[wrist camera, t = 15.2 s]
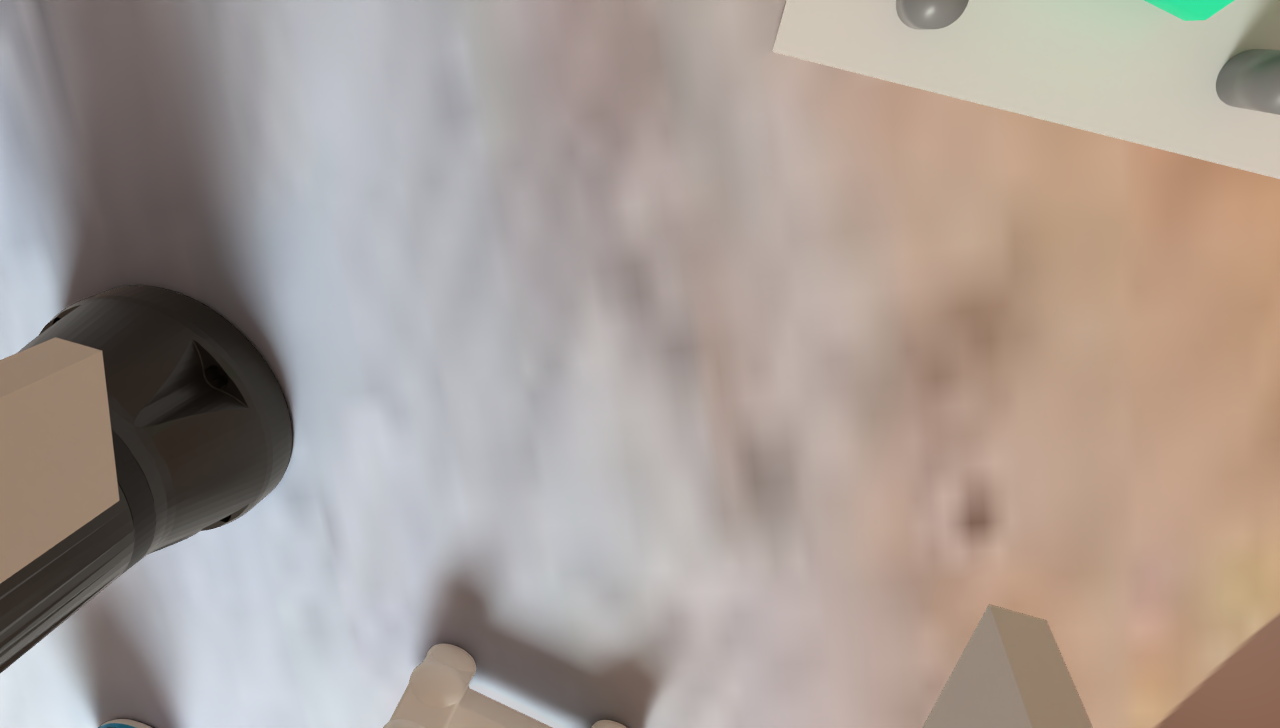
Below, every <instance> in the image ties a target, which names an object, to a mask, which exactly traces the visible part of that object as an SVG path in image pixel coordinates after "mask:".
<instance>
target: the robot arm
mask: <svg viewBox="0 0 1280 728" xmlns="http://www.w3.org/2000/svg"><path fill="white" fill-rule="evenodd" d="M291 449H292V430H291V422H290V416H289V412H288V408H287V405H286V402H285V399H284V396H283V394H282V391H281V389H280V387H279V385H278V382H277V380H276V379H275V377H274V375H273V373H272V371H271V370H270V368H269V367H268V365H267V364H266V362H265V361H264V359H263V358H262V356H261V355H260V354H259V353H258V351H257V350H256V349H255V348H254V346H253V345H252V344H251V343H250V342H249V341H248V340H247V339H246V338H245V337H244V336H243V335H242V334H241V333H240V332H239V331H238V330H237V329H236V328H235V327H234V326H233V325H232V324H230V323H229V322H228V321H227V320H225V319H224V318H223V317H221V316H220V315H219V314H217V313H216V312H214V311H213V310H211V309H210V308H208V307H207V306H205V305H203V304H201V303H199V302H198V301H195V300H193V299H191V298H189V297H187V296H184V295H182V294H179V293H176V292H174V291H170V290H167V289H163V288H158V287H152V286H138V285H135V286H124V287H118V288H114V289H111V290H108V291H105V292H103V293H100V294H97V295H95V296H92V297H89V298H87V299H84V300H82V301H79V302H77V303H75V304H73V305H71V306H69V307H67V308H66V309H64V310H63V311H61V312H60V313H59V314H57V315H56V316H55V317H54V318H53V319H52V320H51V321H50V322H49V323H48V324H47V325H46V326H45V327H44V328H43V330H42V331H41V333H40V334H39V336H37V337H36V338H35V339H34V340H32V341H31V342H30V343H29V344H27V345H26V346H25V347H24V348H22V349H21V350H20V351H19V352H18V353H16V354H14V355H12V356H9V357H7V358H4V359H2V360H0V673H1V672H3V671H4V670H5V669H6V668H8V667H9V666H10V665H11V664H12V663H14V662H15V661H16V660H17V659H19V658H20V657H21V656H22V655H23V654H25V653H26V652H27V651H28V650H30V649H31V648H32V647H33V646H34V645H36V644H37V643H38V642H39V641H41V640H42V639H43V638H44V637H46V636H47V635H48V634H49V633H50V632H52V631H53V630H54V629H55V628H57V627H58V626H59V625H60V624H61V623H63V622H64V621H65V620H66V619H68V618H69V617H70V616H71V615H72V614H74V613H75V612H76V611H77V610H79V609H80V608H81V607H82V606H83V605H85V604H86V603H87V602H88V601H90V600H91V599H92V598H93V597H95V596H96V595H97V594H98V593H99V592H101V591H102V590H103V589H104V588H106V587H107V586H108V585H109V584H110V583H112V582H113V581H114V580H115V579H117V578H118V577H119V576H120V575H121V574H123V573H124V572H125V571H127V570H128V569H129V568H130V567H132V566H133V565H134V564H136V563H137V562H138V561H139V560H141V559H142V558H143V557H144V556H146V555H147V554H150V553H152V552H155V551H157V550H160V549H163V548H165V547H168V546H170V545H173V544H175V543H178V542H180V541H182V540H184V539H187V538H189V537H191V536H193V535H195V534H196V533H198V532H200V531H203V530H209V529H213V528H217V527H220V526H223V525H225V524H227V523H230V522H232V521H234V520H236V519H238V518H239V517H241V516H243V515H244V514H245V513H247V512H248V511H249V510H251V509H252V508H253V507H254V506H255V505H256V504H258V503H259V502H260V501H261V500H262V499H263V498H264V497H266V496H267V495H268V494H269V493H270V492H271V491H272V490H273V489H274V488H275V487H276V486H277V485H278V483H279V482H280V481H281V479H282V477H283V476H284V473H285V471H286V469H287V466H288V463H289V460H290V455H291ZM922 728H1093V726H1092V724H1091V722H1090V719H1089V717H1088V715H1087V713H1086V710H1085V708H1084V706H1083V703H1082V701H1081V699H1080V696H1079V694H1078V692H1077V689H1076V687H1075V685H1074V683H1073V680H1072V678H1071V676H1070V673H1069V671H1068V669H1067V666H1066V664H1065V662H1064V660H1063V657H1062V655H1061V653H1060V650H1059V648H1058V646H1057V643H1056V641H1055V639H1054V636H1053V634H1052V632H1051V630H1050V627H1049V625H1048V623H1047V620H1043V619H1040V618H1036V617H1033V616H1029V615H1026V614H1022V613H1019V612H1015V611H1012V610H1008V609H1005V608H1001V607H998V606H994V605H991V604H989V605H988V607H987V609H986V611H985V613H984V615H983V617H982V618H981V620H980V622H979V624H978V626H977V628H976V629H975V631H974V633H973V635H972V637H971V639H970V641H969V642H968V644H967V646H966V648H965V650H964V652H963V653H962V655H961V657H960V659H959V661H958V663H957V665H956V666H955V668H954V670H953V672H952V674H951V676H950V677H949V679H948V681H947V683H946V685H945V687H944V689H943V690H942V692H941V694H940V696H939V698H938V700H937V702H936V703H935V705H934V707H933V709H932V711H931V713H930V714H929V716H928V718H927V720H926V722H925V724H924V726H923V727H922Z"/></svg>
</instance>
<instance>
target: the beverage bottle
mask: <svg viewBox="0 0 1280 728" xmlns="http://www.w3.org/2000/svg"><path fill="white" fill-rule="evenodd" d="M98 728H152V727H150V726H148V725H146V724H143V723H140V722H137V721H133V720H128V719H116V720H111V721H108V722H106V723H104V724H102V725H101V726H99V727H98Z"/></svg>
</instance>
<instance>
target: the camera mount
mask: <svg viewBox="0 0 1280 728" xmlns="http://www.w3.org/2000/svg"><path fill="white" fill-rule="evenodd" d="M1144 1H1146V2H1148V3H1150V4H1152V5H1154V6H1156V7H1158V8H1160V9H1162V10H1164V11H1166V12H1168V13H1170V14H1172V15H1174V16H1176V17H1178V18H1180V19H1182V20H1184V21H1197V20H1207V19H1208V18H1210V17H1211V16H1212V15H1214V14H1215V13H1217V12H1218V11H1220V10H1221V9H1223V8H1224V7H1226V6H1227V5H1229V4H1230V3H1232V2H1233V1H1234V0H1144Z"/></svg>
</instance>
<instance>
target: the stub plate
mask: <svg viewBox="0 0 1280 728" xmlns="http://www.w3.org/2000/svg"><path fill="white" fill-rule="evenodd" d="M773 52H774V53H778V54H782V55H786V56H790V57H794V58H798V59H802V60H806V61H810V62H814V63H818V64H822V65H826V66H830V67H834V68H838V69H842V70H846V71H850V72H854V73H858V74H862V75H866V76H870V77H874V78H878V79H882V80H886V81H890V82H894V83H898V84H902V85H906V86H910V87H914V88H918V89H922V90H926V91H930V92H934V93H938V94H942V95H946V96H950V97H954V98H958V99H962V100H966V101H970V102H974V103H978V104H982V105H986V106H990V107H994V108H998V109H1002V110H1006V111H1010V112H1014V113H1018V114H1022V115H1026V116H1030V117H1034V118H1038V119H1042V120H1046V121H1050V122H1054V123H1058V124H1062V125H1066V126H1070V127H1074V128H1078V129H1082V130H1086V131H1090V132H1094V133H1098V134H1102V135H1106V136H1110V137H1114V138H1118V139H1122V140H1126V141H1130V142H1134V143H1138V144H1142V145H1146V146H1150V147H1154V148H1158V149H1162V150H1166V151H1170V152H1174V153H1178V154H1182V155H1186V156H1190V157H1194V158H1198V159H1202V160H1206V161H1210V162H1214V163H1218V164H1222V165H1226V166H1230V167H1234V168H1238V169H1242V170H1246V171H1250V172H1254V173H1258V174H1262V175H1265V176H1269V177H1273V178H1277V179H1280V0H1234V1H1233V2H1232V3H1230V4H1229V5H1227V6H1226V7H1224V8H1223V9H1221V10H1220V11H1218V12H1217V13H1215V14H1214V15H1212V16H1211V17H1210V18H1208V19H1207V20H1197V21H1184V20H1182V19H1180V18H1178V17H1176V16H1174V15H1172V14H1170V13H1168V12H1166V11H1164V10H1162V9H1160V8H1158V7H1156V6H1154V5H1152V4H1150V3H1148V2H1146V1H1144V0H787V1H786V5H785V8H784V12H783V16H782V19H781V23H780V26H779V30H778V34H777V37H776V41H775V44H774V48H773Z"/></svg>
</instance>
